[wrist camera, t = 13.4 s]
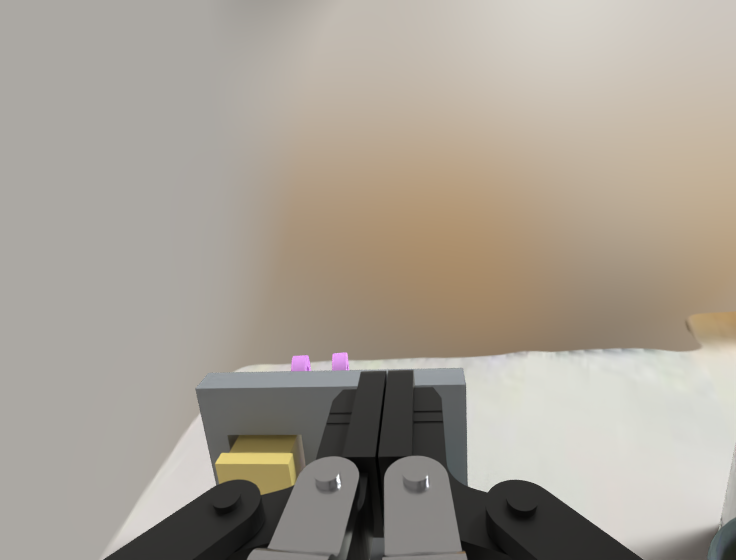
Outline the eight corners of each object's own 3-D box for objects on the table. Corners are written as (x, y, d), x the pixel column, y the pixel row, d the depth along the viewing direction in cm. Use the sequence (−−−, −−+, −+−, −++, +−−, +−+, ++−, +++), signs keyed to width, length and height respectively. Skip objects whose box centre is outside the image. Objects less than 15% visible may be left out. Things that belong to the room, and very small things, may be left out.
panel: (462, 507, 37) (459, 346, 33) (468, 563, 32) (465, 384, 28) (254, 504, 39) (225, 352, 35) (231, 556, 34) (195, 388, 30)
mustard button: (318, 455, 36) (311, 402, 34) (297, 524, 30) (288, 464, 28) (260, 455, 36) (250, 403, 35) (227, 523, 30) (214, 463, 29)
